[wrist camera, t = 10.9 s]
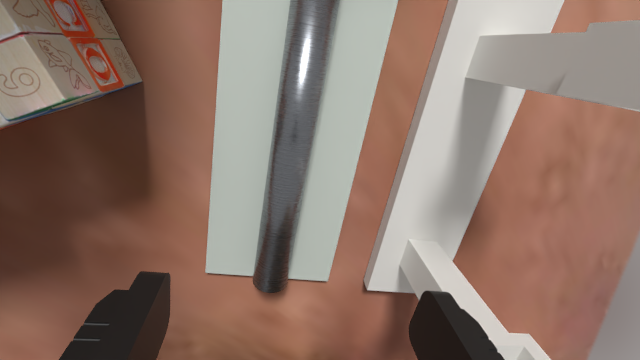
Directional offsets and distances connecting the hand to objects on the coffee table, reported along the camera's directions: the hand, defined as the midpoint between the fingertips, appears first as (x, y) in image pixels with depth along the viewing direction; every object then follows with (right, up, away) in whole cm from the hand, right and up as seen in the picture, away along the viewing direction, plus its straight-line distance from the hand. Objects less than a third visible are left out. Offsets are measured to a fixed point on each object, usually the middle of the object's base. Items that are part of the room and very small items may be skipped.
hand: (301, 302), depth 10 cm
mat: (-2, +7, +16) cm, 18 cm away
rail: (-2, +7, +16) cm, 17 cm away
